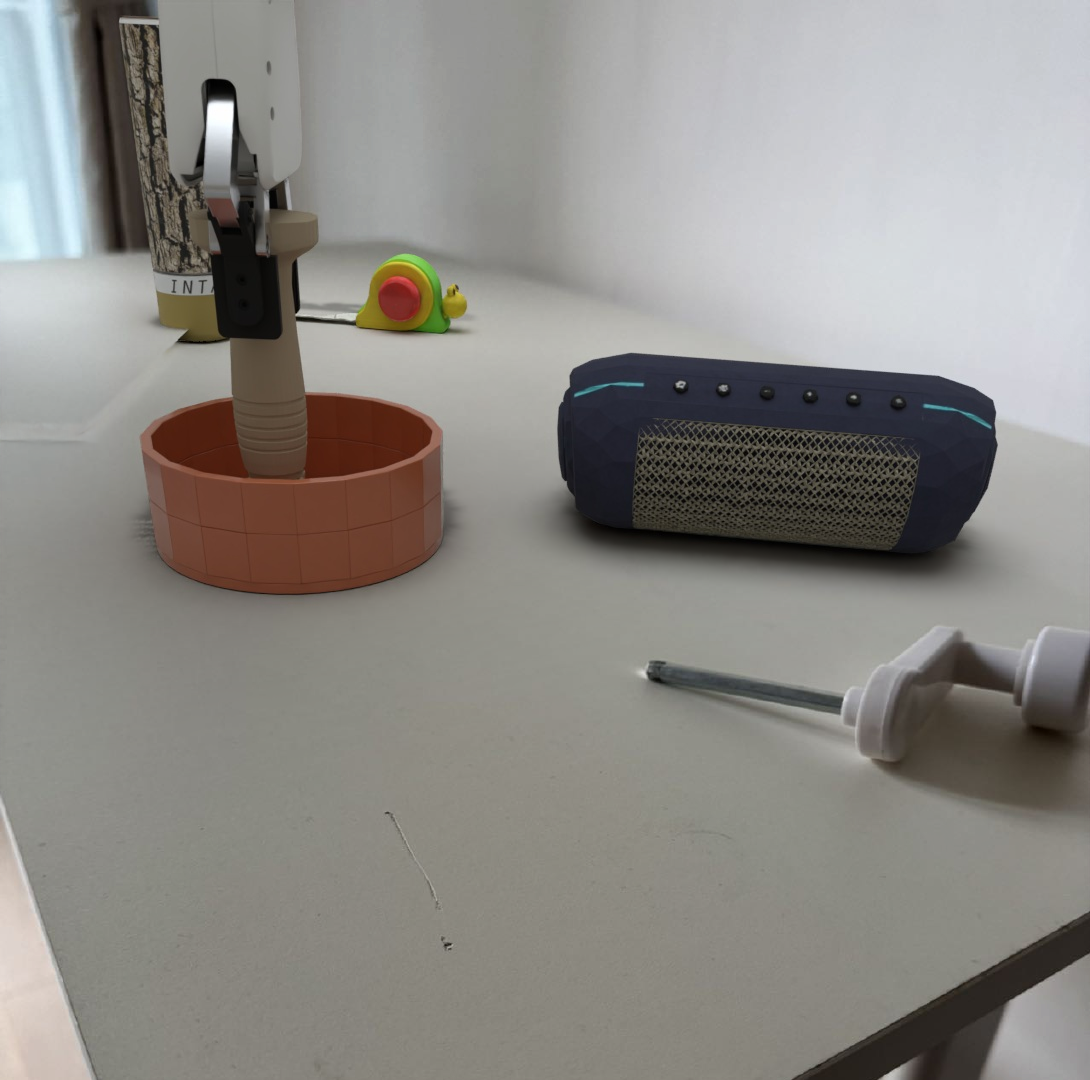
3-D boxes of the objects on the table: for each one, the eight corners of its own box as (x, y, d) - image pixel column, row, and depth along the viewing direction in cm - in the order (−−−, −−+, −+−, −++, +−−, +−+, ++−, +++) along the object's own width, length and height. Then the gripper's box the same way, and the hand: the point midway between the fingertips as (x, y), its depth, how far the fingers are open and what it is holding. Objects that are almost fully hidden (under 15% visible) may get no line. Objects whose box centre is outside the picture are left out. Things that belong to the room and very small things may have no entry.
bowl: (119, 590, 58) (99, 477, 55) (195, 482, 72) (183, 387, 69) (433, 598, 59) (432, 487, 55) (449, 489, 72) (449, 396, 69)
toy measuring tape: (458, 339, 107) (458, 266, 104) (264, 323, 110) (258, 250, 106) (474, 325, 112) (474, 255, 109) (288, 310, 115) (283, 240, 111)
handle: (332, 511, 64) (315, 224, 56) (215, 511, 63) (181, 220, 55) (335, 481, 68) (319, 210, 60) (225, 480, 67) (195, 206, 59)
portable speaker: (541, 547, 65) (548, 372, 60) (562, 488, 73) (570, 330, 68) (987, 587, 63) (1035, 408, 57) (956, 522, 71) (995, 360, 66)
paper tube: (149, 332, 105) (103, 14, 91) (216, 324, 109) (181, 18, 95) (182, 347, 100) (140, 16, 87) (251, 338, 104) (220, 20, 91)
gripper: (187, -85, 58) (224, 289, 67) (80, -120, 43) (147, 362, 53) (335, -76, 58) (351, 295, 68) (277, -109, 44) (308, 369, 53)
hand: (261, 320), depth 60 cm, fingers closed on handle, 4 cm apart
